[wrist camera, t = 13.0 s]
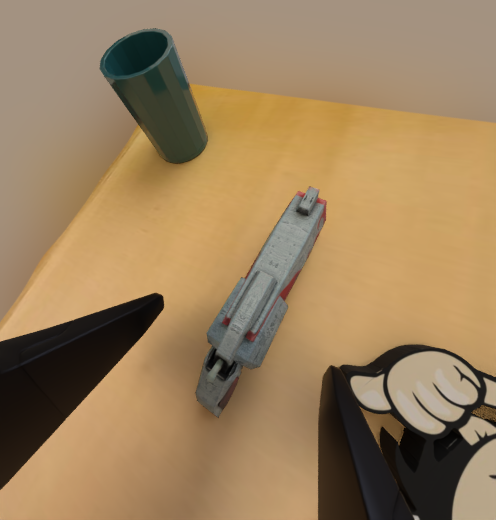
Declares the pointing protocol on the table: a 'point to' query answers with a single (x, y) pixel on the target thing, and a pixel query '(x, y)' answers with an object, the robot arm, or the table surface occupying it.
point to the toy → (434, 429)
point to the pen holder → (156, 92)
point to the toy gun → (259, 301)
